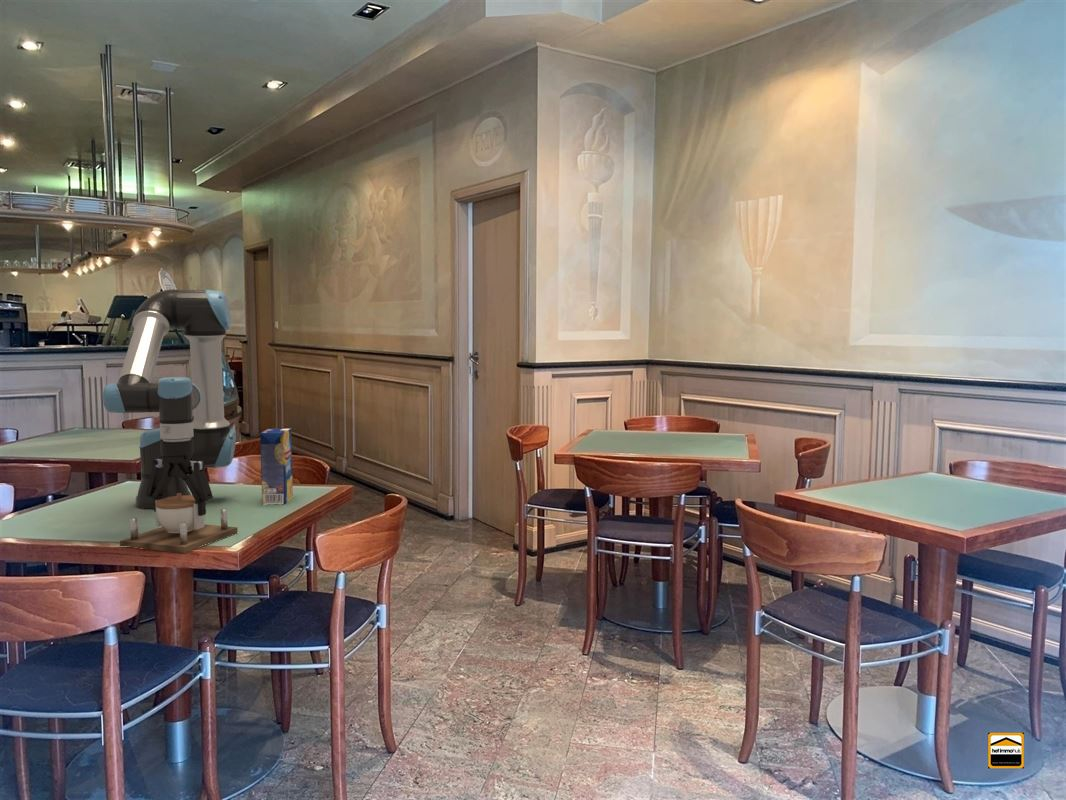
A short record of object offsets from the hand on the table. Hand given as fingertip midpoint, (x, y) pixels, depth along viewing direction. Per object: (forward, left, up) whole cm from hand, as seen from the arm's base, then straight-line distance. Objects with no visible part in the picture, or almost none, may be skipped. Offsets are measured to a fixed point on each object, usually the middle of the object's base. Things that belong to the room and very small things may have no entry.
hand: (180, 526), depth 189 cm
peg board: (0, 0, -3) cm, 3 cm away
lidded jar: (0, 0, -1) cm, 1 cm away
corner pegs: (0, 0, -2) cm, 2 cm away
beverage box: (-3, +45, -4) cm, 45 cm away
